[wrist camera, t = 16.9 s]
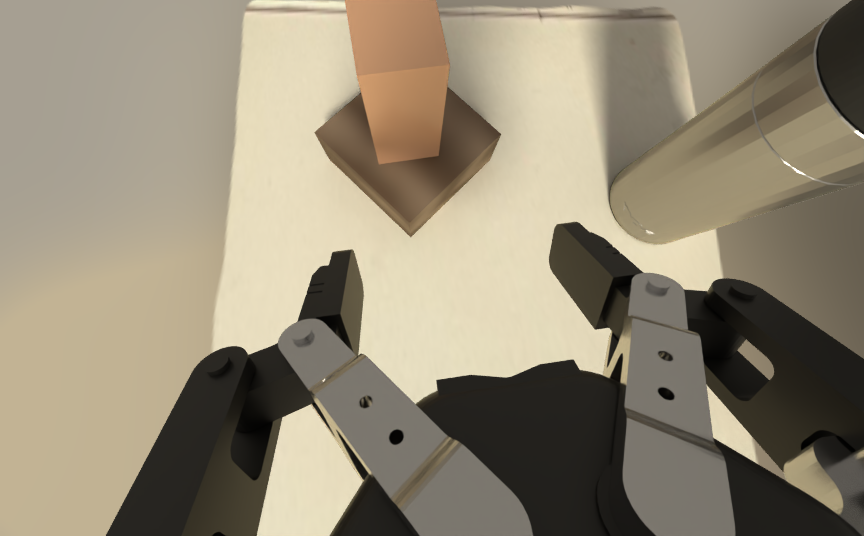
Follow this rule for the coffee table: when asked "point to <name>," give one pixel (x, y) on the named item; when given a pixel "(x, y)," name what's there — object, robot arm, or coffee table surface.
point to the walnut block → (410, 161)
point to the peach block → (400, 74)
